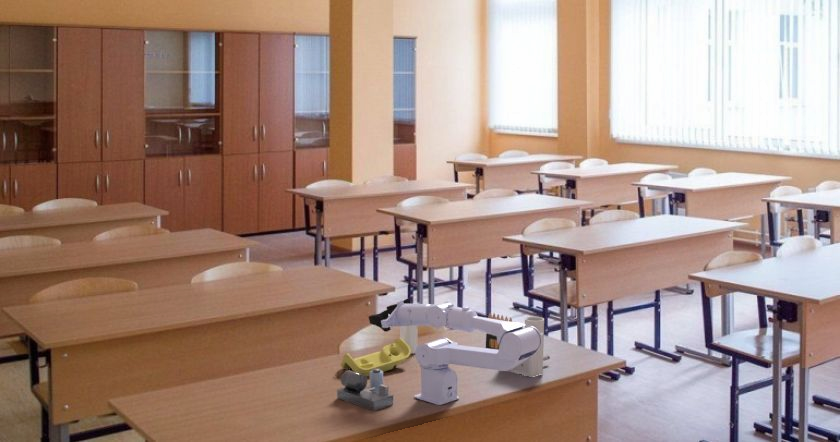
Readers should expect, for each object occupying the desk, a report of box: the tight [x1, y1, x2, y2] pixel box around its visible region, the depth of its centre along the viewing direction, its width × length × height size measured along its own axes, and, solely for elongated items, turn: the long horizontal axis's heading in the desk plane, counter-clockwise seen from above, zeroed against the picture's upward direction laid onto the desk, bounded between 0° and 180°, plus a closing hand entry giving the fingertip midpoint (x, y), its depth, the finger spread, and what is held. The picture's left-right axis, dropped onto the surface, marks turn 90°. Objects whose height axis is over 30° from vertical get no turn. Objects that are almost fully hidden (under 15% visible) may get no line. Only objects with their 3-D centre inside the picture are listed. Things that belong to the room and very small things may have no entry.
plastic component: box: [340, 337, 411, 378], centre depth 291 cm, size 20×7×10 cm
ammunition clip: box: [485, 312, 513, 350], centre depth 308 cm, size 11×2×12 cm, turn 42°
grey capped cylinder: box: [369, 369, 384, 391], centre depth 269 cm, size 4×4×6 cm
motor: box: [336, 369, 394, 411], centre depth 260 cm, size 15×7×7 cm, turn 46°
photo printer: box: [399, 326, 419, 355], centre depth 310 cm, size 10×4×12 cm, turn 13°
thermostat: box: [506, 316, 551, 378], centre depth 290 cm, size 12×14×15 cm
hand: (379, 314), depth 274 cm, fingers open, 7 cm apart
